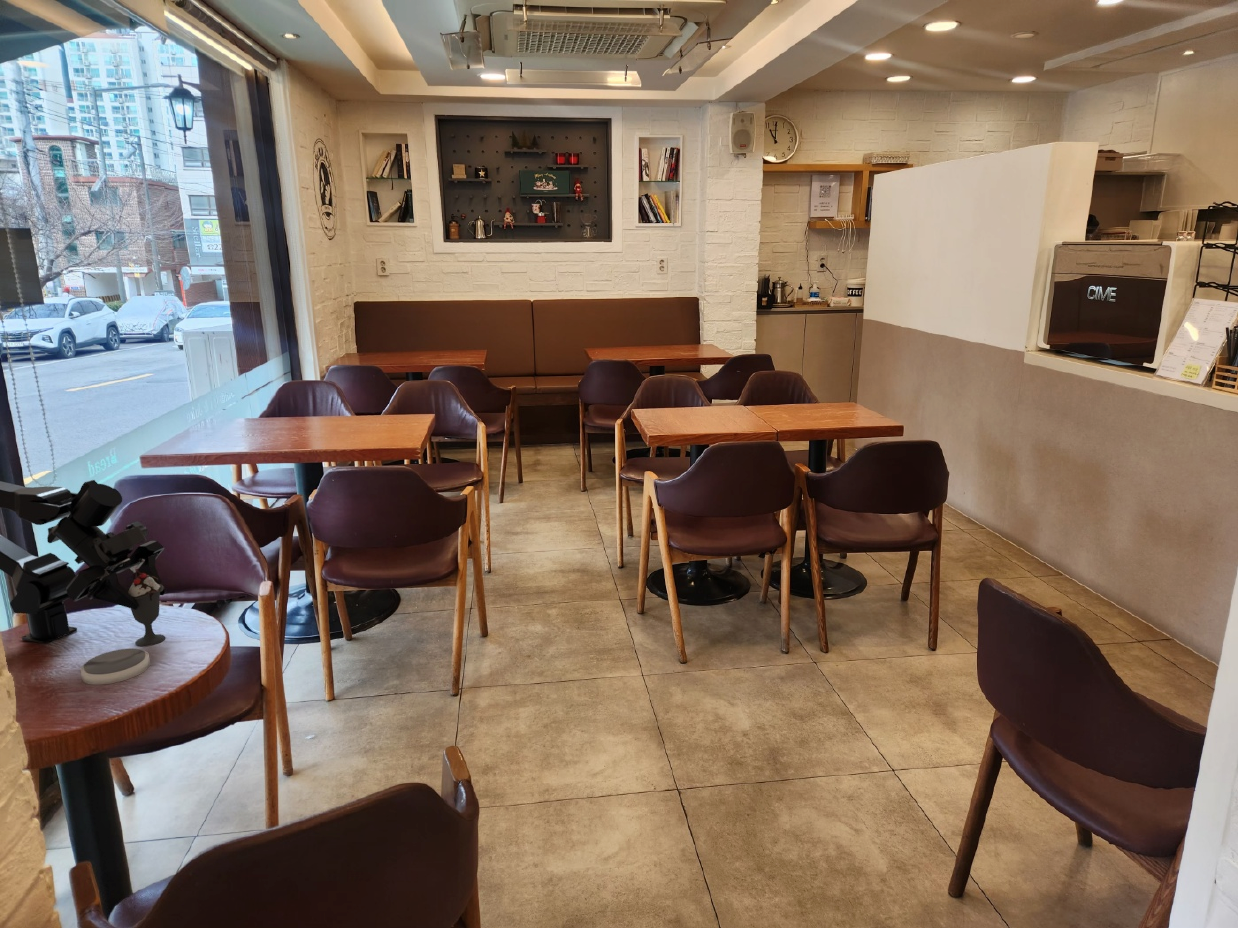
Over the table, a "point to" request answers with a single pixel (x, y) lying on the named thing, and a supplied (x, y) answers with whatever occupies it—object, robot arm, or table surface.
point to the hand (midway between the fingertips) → (151, 600)
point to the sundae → (146, 606)
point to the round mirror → (115, 666)
